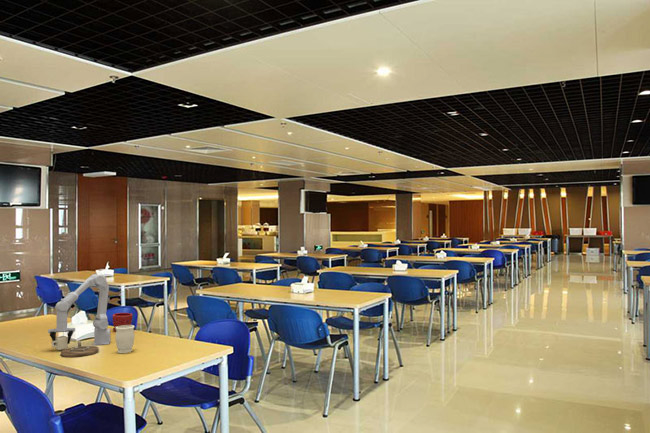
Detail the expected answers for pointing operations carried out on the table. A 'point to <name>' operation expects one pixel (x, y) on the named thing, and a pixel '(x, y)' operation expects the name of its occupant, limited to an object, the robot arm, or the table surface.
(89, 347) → the turntable
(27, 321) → the table surface
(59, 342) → the beige block
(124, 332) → the jar
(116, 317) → the plant pot
